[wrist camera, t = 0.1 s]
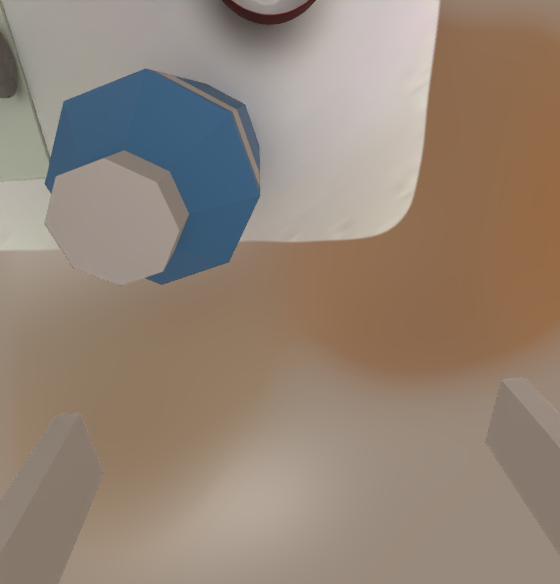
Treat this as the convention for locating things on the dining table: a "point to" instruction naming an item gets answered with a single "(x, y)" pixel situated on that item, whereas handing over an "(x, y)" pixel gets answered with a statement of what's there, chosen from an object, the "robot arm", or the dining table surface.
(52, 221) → the water bottle
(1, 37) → the metal mallet head
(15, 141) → the mat
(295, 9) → the mug
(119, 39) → the dining table surface
